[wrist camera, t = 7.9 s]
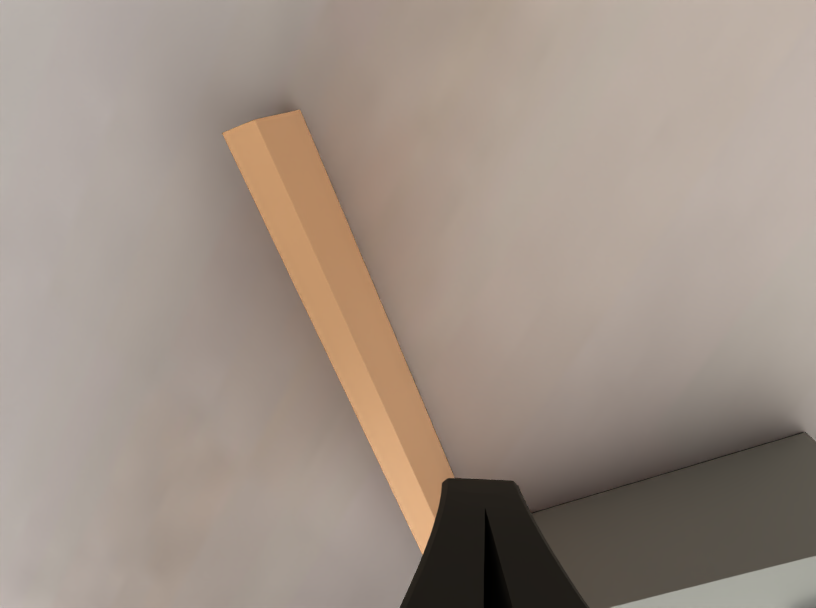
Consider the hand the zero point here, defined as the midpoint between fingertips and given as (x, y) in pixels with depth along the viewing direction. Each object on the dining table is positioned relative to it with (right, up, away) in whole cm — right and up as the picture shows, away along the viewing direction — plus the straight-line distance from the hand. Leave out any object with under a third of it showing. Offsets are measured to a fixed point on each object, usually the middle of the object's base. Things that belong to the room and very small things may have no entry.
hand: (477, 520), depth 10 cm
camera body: (+8, -5, +11) cm, 14 cm away
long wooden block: (-2, +2, +8) cm, 8 cm away
